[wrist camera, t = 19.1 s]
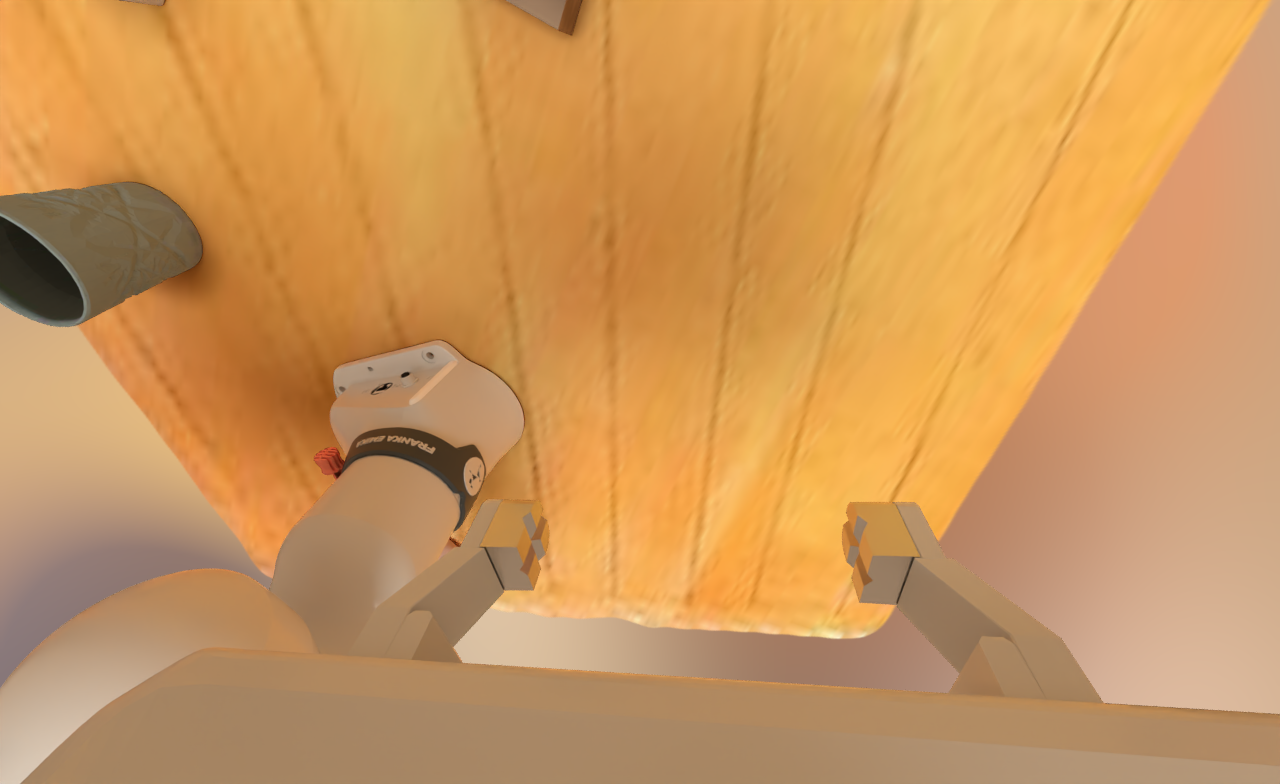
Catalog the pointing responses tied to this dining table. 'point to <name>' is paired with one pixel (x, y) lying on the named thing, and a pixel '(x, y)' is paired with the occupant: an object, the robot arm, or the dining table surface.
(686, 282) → the dining table surface
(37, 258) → the grey green cup
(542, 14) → the display stand
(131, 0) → the coffee box
